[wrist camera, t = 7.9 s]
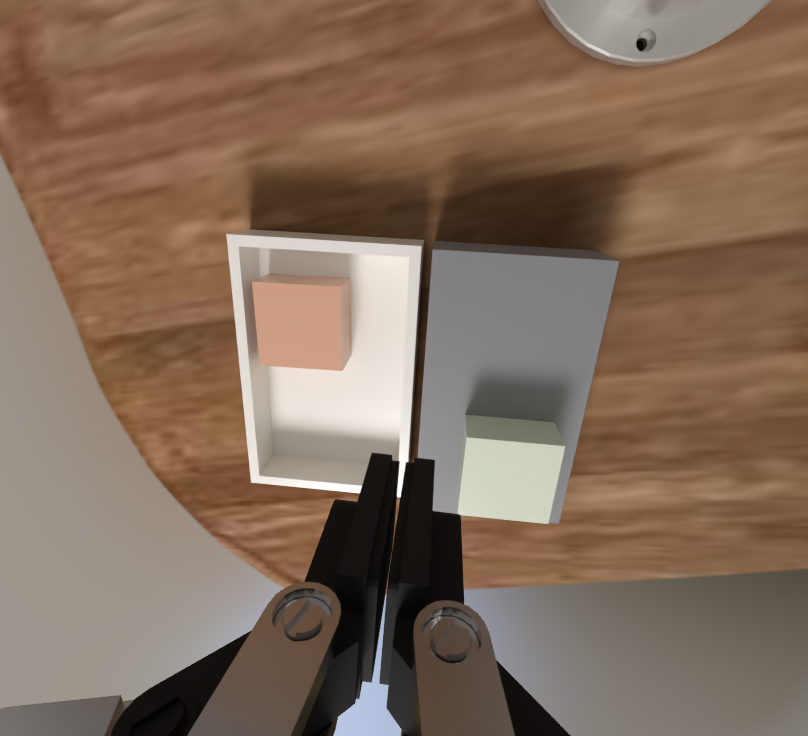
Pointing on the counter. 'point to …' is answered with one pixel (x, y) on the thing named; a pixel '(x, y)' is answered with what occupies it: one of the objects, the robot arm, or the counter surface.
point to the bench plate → (509, 346)
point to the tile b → (508, 468)
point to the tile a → (303, 321)
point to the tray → (328, 389)
